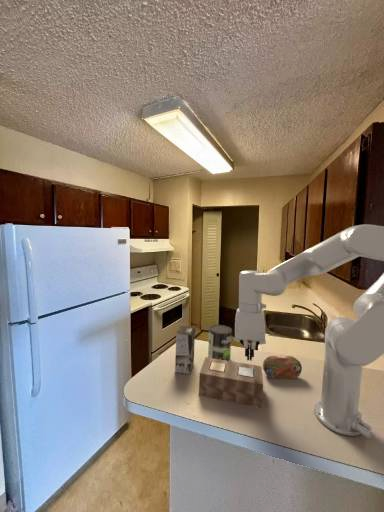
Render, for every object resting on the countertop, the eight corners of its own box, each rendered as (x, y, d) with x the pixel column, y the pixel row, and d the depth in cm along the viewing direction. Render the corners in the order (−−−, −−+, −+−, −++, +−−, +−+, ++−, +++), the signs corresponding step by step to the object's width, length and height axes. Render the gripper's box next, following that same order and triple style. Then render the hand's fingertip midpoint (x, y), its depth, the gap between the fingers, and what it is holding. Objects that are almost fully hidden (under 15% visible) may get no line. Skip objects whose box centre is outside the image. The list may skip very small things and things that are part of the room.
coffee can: (235, 359, 103) (236, 329, 102) (220, 368, 96) (221, 335, 95) (217, 351, 110) (219, 322, 109) (202, 358, 103) (204, 328, 102)
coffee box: (190, 374, 91) (191, 335, 89) (174, 372, 92) (175, 333, 91) (194, 362, 99) (195, 326, 98) (180, 360, 101) (181, 325, 99)
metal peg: (251, 389, 82) (253, 368, 82) (252, 398, 77) (253, 377, 77) (237, 386, 83) (238, 366, 83) (237, 395, 79) (238, 374, 78)
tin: (264, 379, 89) (265, 358, 89) (261, 374, 93) (262, 354, 92) (301, 379, 90) (303, 359, 89) (297, 374, 93) (299, 355, 93)
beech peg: (224, 383, 85) (225, 364, 84) (222, 392, 80) (223, 371, 79) (211, 381, 86) (211, 361, 85) (208, 389, 81) (209, 369, 80)
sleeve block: (260, 386, 84) (261, 366, 84) (261, 407, 74) (263, 384, 73) (204, 376, 90) (205, 357, 89) (198, 395, 79) (199, 373, 78)
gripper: (271, 305, 80) (271, 355, 81) (228, 302, 83) (228, 351, 85) (274, 311, 73) (273, 367, 74) (227, 308, 76) (226, 361, 77)
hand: (249, 358), depth 79 cm, fingers closed
